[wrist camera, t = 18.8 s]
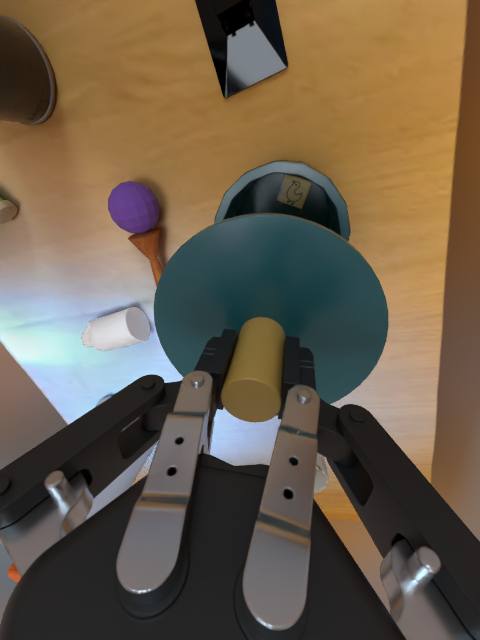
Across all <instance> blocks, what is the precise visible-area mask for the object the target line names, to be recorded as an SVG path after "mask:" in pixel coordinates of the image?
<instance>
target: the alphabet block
mask: <svg viewBox="0 0 480 640" xmlns="http://www.w3.org/2000/svg"><path fill="white" fill-rule="evenodd" d="M311 184H312V181H310V180H308V179H307V178H304V177H301V176H298V175H295V174H284V177H283V180H282V183H281V186H280V189H279V192H278V195H277V198H276V200H277V201H280V202H282V203H285V204H288V205H291V206H294V207H297V208H300V209H302V207H303V205H304V202H305V200H306V197H307V194H308V192H309V189H310V186H311Z"/></svg>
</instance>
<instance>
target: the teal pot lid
mask: <svg viewBox="0 0 480 640" xmlns="http://www.w3.org/2000/svg"><path fill="white" fill-rule="evenodd" d="M154 320H155V325H156V331H157V334H158V337H159V340H160V343H161V345H162V347H163V349H164V351H165V353H166V355H167V357H168V358H169V360H170V361H171V363H172V364H173V366H174V367H175V368H176V369H177V370H178V372H179V373H180V374H181V375H182V376H183V377H184V376H185V375H187V374H188V373H190V372H192V371H194V369H195V367H196V365H197V363H198V360H199V358H200V356H201V354H202V352H203V350H204V349H205V346H206V344H207V342H208V341H209V340H210V339H211V338H212V337H214V336H215V337H221V335H222V333H223V330H224V329H232V330H238V340H237V344H236V347H235V350H234V353H233V356H232V359H231V362H230V366H229V369H228V372H227V375H226V378H225V381H224V384H223V388H222V391H221V401H222V404H223V406H224V407H225V409H226V410H227V411H228V412H229V413H230V414H232V415H233V416H235V417H237V418H239V419H241V420H244V421H249V422H263V421H267V420H269V419H271V418H273V417H274V416H276V415H278V412H279V410H280V408H281V403H282V397H281V393H282V377H283V361H284V345H285V337H286V336H291V337H299V338H300V347H304V348H309V349H310V351H311V352H312V354H313V357H314V369H315V380H316V390H317V392H318V394H319V396H320V398H321V399H322V400H323V401H325V402H326V403H328V404H331V403H334V402H336V401H338V400H340V399H341V398H343V397H344V396H346V395H348V394H349V393H350V392H352V391H353V390H354V389H355V388H357V387H358V386H359V385H360V384H361V383H362V382H363V381H364V380H365V379H366V378H367V377H368V376H369V374H370V373H371V371H372V370H373V369H374V367H375V366H376V364H377V362H378V360H379V358H380V356H381V354H382V352H383V349H384V345H385V342H386V338H387V332H388V309H387V303H386V298H385V295H384V292H383V289H382V287H381V284H380V282H379V280H378V278H377V277H376V275H375V273H374V271H373V270H372V268H371V266H370V265H369V264H368V262H367V261H366V260H365V259H364V257H363V256H362V255H361V254H360V252H359V251H358V250H356V249H355V248H354V247H353V246H352V245H351V244H350V243H349V242H348V241H347V240H345V239H344V238H342V237H341V236H339V235H338V234H336V233H335V232H333V231H332V230H330V229H328V228H326V227H324V226H322V225H320V224H317V223H315V222H313V221H309V220H306V219H303V218H300V217H297V216H291V215H284V214H278V213H255V214H247V215H240V216H236V217H232V218H229V219H225V220H222V221H220V222H218V223H215V224H213V225H211V226H209V227H207V228H205V229H204V230H202V231H200V232H199V233H197V234H196V235H194V236H193V237H192V238H191V239H189V240H188V241H187V242H186V243H185V244H183V245H182V246H181V247H180V248H179V249H178V250H177V252H176V253H175V254H174V255H173V256H172V257H171V259H170V260H169V262H168V263H167V265H166V267H165V268H164V270H163V272H162V274H161V277H160V279H159V281H158V285H157V289H156V293H155V300H154Z"/></svg>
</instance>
